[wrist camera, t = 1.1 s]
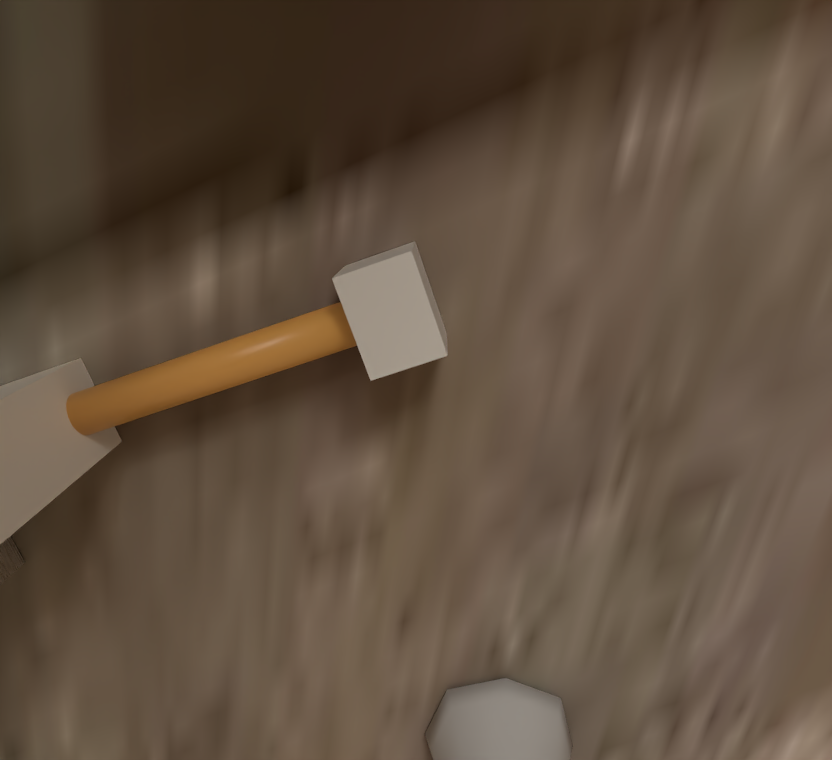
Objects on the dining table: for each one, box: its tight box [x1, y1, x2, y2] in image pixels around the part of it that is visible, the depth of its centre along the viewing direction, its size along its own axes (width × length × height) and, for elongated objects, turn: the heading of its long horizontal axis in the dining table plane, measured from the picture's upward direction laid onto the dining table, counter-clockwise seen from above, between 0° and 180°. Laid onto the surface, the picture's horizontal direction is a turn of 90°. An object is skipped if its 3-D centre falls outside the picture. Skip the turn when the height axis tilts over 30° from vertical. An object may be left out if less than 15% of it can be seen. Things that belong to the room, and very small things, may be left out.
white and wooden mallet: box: [0, 241, 448, 544], centre depth 25 cm, size 21×4×9 cm, turn 109°
